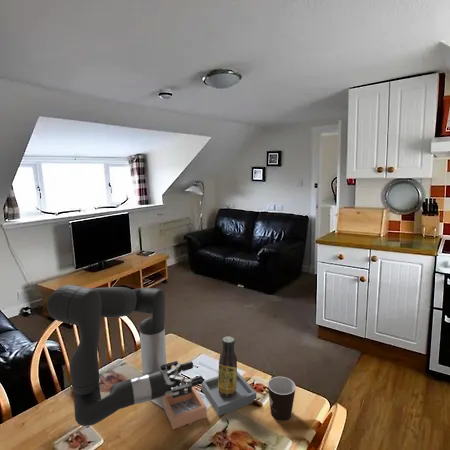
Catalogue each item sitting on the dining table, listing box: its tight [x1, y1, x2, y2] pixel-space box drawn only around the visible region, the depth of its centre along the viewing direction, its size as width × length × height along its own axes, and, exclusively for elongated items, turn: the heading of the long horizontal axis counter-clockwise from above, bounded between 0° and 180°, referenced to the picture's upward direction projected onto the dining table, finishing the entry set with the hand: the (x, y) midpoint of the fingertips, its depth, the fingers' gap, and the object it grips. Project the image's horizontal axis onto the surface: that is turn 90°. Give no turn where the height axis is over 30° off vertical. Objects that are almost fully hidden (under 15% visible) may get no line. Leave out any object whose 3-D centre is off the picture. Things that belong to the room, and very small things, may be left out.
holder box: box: [161, 386, 208, 430], centre depth 104 cm, size 11×11×4 cm
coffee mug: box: [267, 375, 297, 422], centre depth 103 cm, size 12×9×10 cm
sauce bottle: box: [217, 335, 238, 397], centre depth 109 cm, size 6×6×20 cm
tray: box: [201, 371, 257, 417], centre depth 111 cm, size 14×14×3 cm
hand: (197, 371), depth 104 cm, fingers open, 8 cm apart
